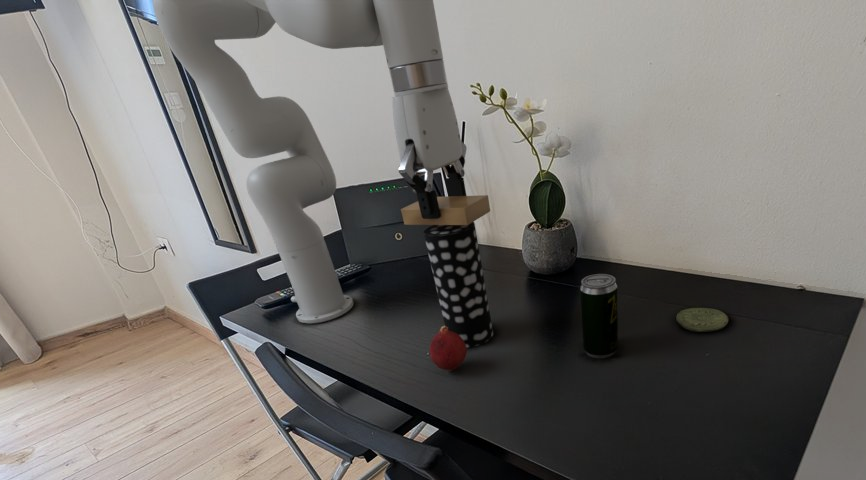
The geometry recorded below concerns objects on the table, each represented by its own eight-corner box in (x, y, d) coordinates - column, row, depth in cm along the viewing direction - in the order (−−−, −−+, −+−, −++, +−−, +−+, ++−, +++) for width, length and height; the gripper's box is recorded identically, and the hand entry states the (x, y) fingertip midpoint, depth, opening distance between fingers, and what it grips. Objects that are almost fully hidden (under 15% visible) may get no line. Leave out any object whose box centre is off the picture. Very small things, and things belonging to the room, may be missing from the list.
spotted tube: (488, 347, 81) (467, 233, 70) (442, 348, 83) (416, 238, 72) (497, 324, 88) (479, 217, 77) (455, 325, 90) (432, 222, 79)
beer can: (581, 359, 73) (577, 288, 67) (586, 341, 78) (582, 273, 71) (616, 360, 72) (615, 287, 65) (619, 342, 76) (618, 272, 70)
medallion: (680, 307, 82) (681, 303, 82) (730, 311, 79) (731, 307, 78) (671, 329, 77) (672, 325, 76) (725, 334, 73) (725, 330, 73)
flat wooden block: (404, 225, 74) (400, 209, 73) (429, 212, 79) (426, 196, 78) (467, 225, 69) (464, 208, 67) (490, 211, 74) (488, 195, 72)
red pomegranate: (456, 383, 73) (446, 338, 69) (428, 376, 76) (416, 333, 72) (476, 364, 77) (468, 320, 73) (449, 358, 80) (439, 316, 76)
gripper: (433, 78, 72) (455, 196, 81) (356, 91, 60) (392, 228, 69) (474, 71, 69) (492, 195, 78) (401, 82, 56) (433, 228, 66)
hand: (445, 209), depth 73 cm, fingers closed on flat wooden block, 7 cm apart
